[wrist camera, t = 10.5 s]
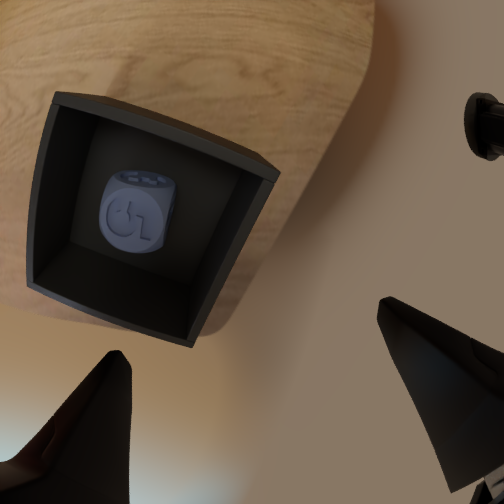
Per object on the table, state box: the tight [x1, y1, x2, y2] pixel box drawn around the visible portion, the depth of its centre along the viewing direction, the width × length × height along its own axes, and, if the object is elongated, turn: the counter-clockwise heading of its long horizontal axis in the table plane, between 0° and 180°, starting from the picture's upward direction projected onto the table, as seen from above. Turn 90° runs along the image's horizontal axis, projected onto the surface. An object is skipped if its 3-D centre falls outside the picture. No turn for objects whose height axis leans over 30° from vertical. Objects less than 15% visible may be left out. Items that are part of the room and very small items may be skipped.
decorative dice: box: [99, 170, 177, 253], centre depth 16 cm, size 4×4×4 cm
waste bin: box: [26, 91, 281, 348], centre depth 15 cm, size 12×12×7 cm
